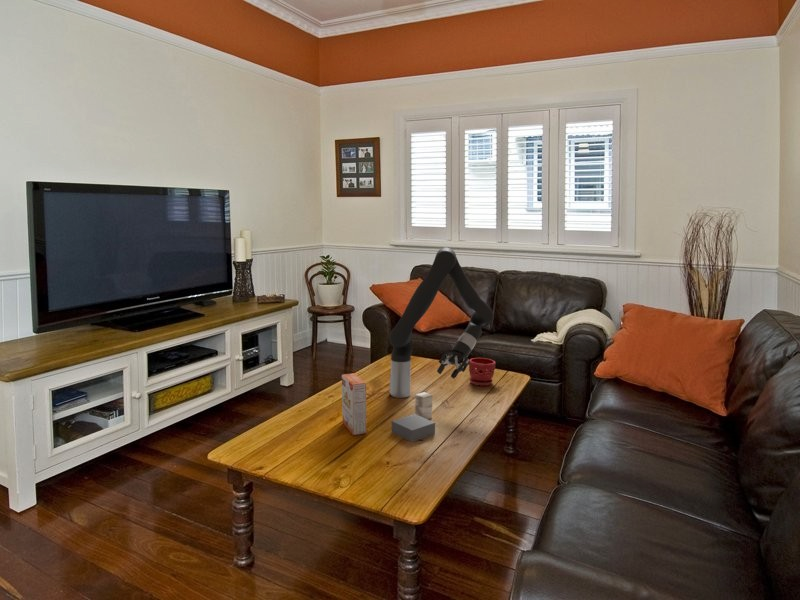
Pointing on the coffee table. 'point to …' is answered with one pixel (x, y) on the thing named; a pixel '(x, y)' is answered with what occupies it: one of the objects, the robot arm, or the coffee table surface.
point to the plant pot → (481, 371)
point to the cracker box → (354, 403)
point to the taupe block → (423, 405)
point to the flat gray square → (413, 427)
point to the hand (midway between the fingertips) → (445, 375)
